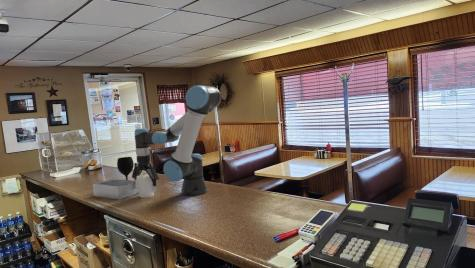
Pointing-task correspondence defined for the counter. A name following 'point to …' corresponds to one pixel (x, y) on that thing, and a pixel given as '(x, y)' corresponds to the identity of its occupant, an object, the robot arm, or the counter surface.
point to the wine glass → (125, 165)
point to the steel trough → (115, 189)
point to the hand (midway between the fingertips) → (145, 190)
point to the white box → (144, 186)
